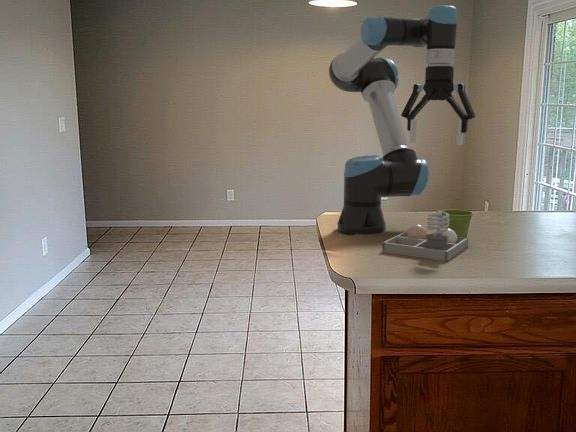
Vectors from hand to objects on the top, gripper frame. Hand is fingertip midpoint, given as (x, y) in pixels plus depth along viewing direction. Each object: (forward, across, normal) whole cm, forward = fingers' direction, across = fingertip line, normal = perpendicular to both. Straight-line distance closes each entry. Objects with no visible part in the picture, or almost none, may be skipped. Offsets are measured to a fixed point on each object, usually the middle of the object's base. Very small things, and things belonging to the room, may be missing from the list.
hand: (435, 143), depth 168 cm
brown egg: (+28, -2, -5) cm, 29 cm away
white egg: (+28, +6, -5) cm, 29 cm away
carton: (+29, +2, -10) cm, 30 cm away
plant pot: (+29, +5, +7) cm, 30 cm away
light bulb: (+28, +7, -14) cm, 32 cm away
